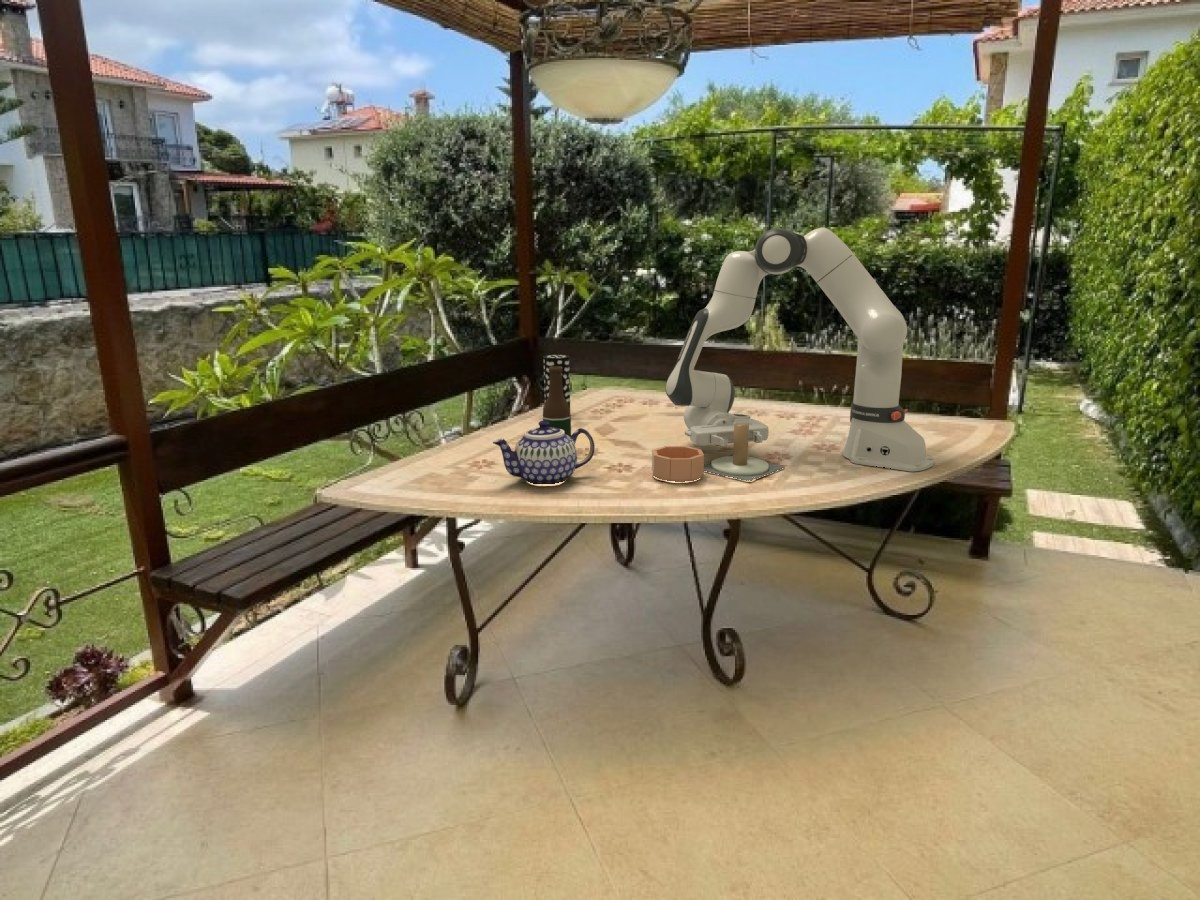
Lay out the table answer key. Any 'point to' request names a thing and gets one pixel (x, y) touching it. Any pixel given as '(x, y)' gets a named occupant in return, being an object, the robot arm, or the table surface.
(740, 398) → the table surface
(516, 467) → the teapot
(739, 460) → the lid
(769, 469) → the mat
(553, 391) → the beer bottle
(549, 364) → the spotted tube
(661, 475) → the bowl
